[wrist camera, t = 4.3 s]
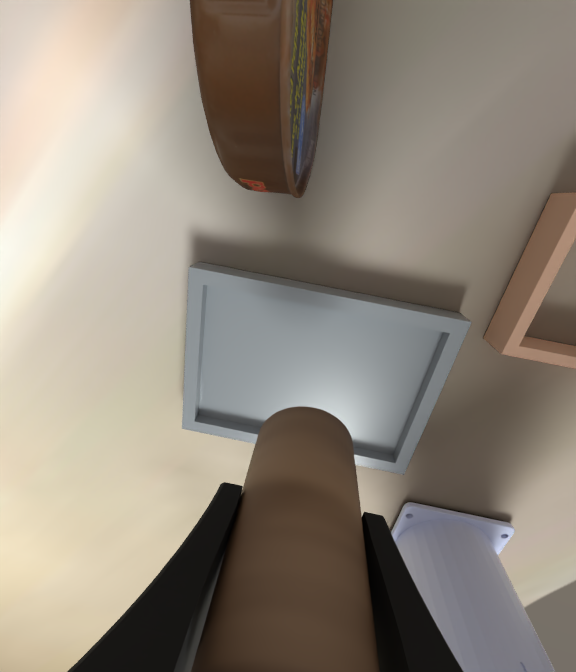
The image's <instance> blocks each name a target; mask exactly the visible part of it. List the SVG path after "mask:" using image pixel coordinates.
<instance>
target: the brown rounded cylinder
mask: <svg viewBox="0 0 576 672" xmlns="http://www.w3.org/2000/svg"><path fill="white" fill-rule="evenodd" d="M191 672H380V669H379V661H378V652H377V644H376V636H375V627H374V619H373V610H372V602H371V593H370V585H369V576H368V568H367V559H366V551H365V542H364V534H363V526H362V517H361V509H360V500H359V492H358V483H357V475H356V466H355V458H354V449H353V442H352V438H351V435H350V433H349V431H348V429H347V428H346V426H345V425H344V424H343V423H342V422H341V421H340V420H339V419H338V418H337V417H335V416H334V415H332V414H330V413H328V412H326V411H324V410H321V409H318V408H313V407H306V406H298V407H290V408H286V409H283V410H280V411H278V412H276V413H275V414H273V415H271V416H270V417H269V418H268V419H267V420H266V421H265V422H264V423H263V425H262V427H261V428H260V431H259V434H258V437H257V441H256V444H255V448H254V451H253V455H252V458H251V462H250V465H249V469H248V472H247V476H246V479H245V483H244V486H243V490H242V493H241V498H240V501H239V505H238V508H237V512H236V515H235V519H234V523H233V526H232V529H231V532H230V536H229V539H228V543H227V546H226V550H225V553H224V557H223V560H222V564H221V567H220V571H219V574H218V578H217V581H216V585H215V588H214V592H213V595H212V599H211V603H210V606H209V610H208V613H207V617H206V620H205V624H204V627H203V631H202V634H201V638H200V641H199V645H198V648H197V652H196V655H195V659H194V662H193V666H192V669H191Z"/></svg>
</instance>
